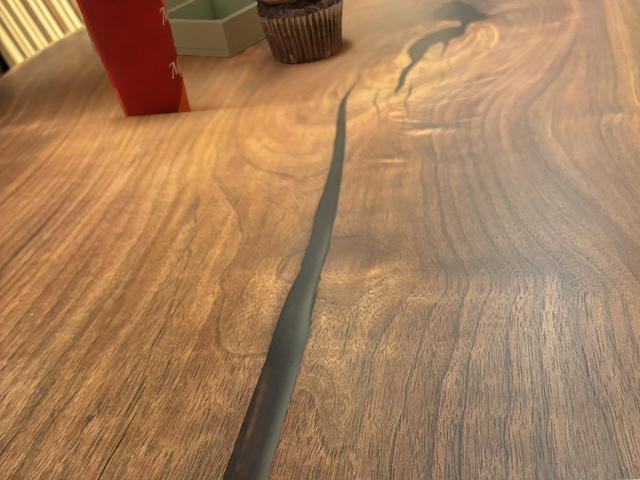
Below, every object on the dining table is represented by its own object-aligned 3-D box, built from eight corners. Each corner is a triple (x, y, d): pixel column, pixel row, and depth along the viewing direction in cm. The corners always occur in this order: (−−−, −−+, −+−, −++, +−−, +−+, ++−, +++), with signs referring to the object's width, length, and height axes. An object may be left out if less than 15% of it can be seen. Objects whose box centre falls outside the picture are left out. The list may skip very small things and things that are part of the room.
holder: (230, 57, 84) (221, 22, 81) (93, 50, 94) (82, 19, 92) (288, 24, 91) (281, -9, 89) (155, 21, 101) (146, -9, 99)
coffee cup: (219, 113, 70) (171, -62, 61) (149, 146, 66) (85, -36, 57) (171, 100, 75) (119, -65, 65) (103, 130, 71) (37, -41, 61)
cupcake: (252, 67, 80) (229, -34, 74) (286, 38, 87) (267, -56, 80) (332, 65, 77) (315, -40, 71) (360, 35, 84) (347, -63, 77)
